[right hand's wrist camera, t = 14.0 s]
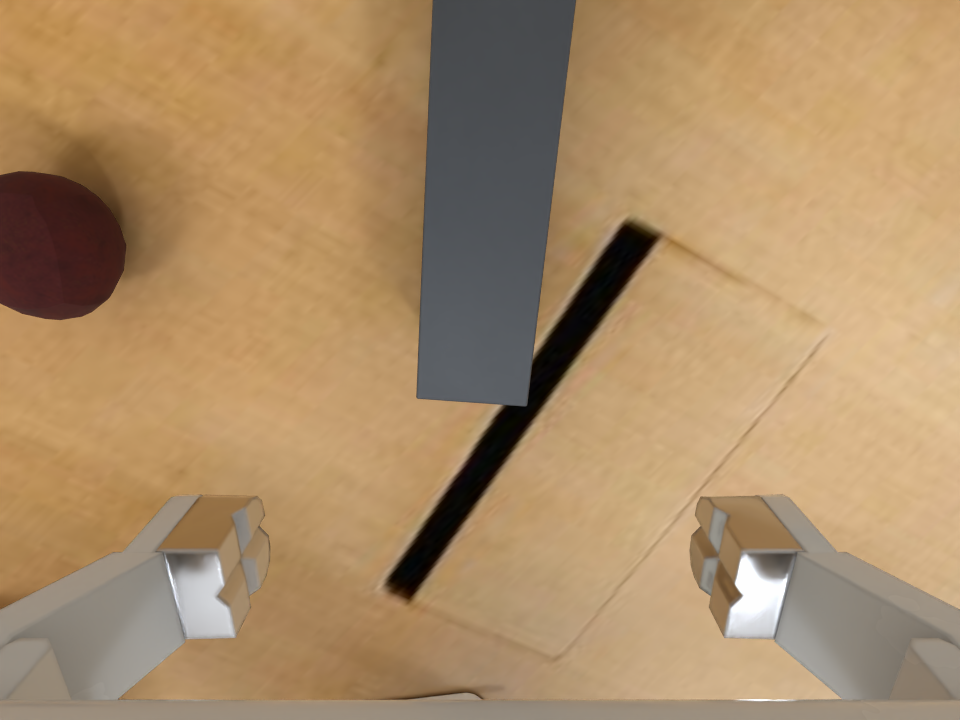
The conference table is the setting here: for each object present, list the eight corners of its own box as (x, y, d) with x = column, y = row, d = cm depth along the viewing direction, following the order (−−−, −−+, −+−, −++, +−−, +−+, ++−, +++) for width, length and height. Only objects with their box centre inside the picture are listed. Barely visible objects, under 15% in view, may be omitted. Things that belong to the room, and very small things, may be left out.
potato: (137, 168, 31) (46, 175, 25) (164, 302, 34) (88, 340, 27) (6, 167, 31) (-121, 173, 25) (43, 301, 34) (-61, 339, 27)
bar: (515, 343, 35) (527, 407, 27) (431, 337, 35) (416, 399, 27) (571, -174, 26) (616, -329, 17) (457, -186, 26) (446, -347, 17)
